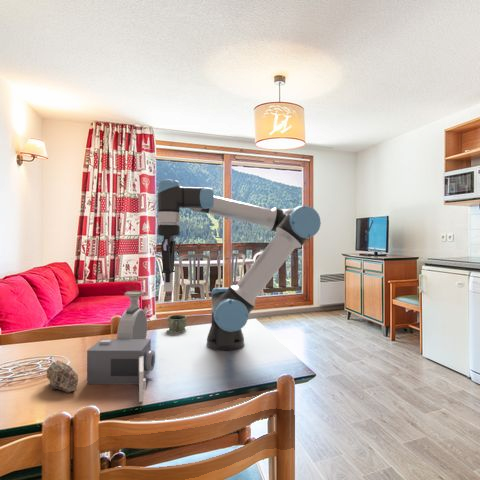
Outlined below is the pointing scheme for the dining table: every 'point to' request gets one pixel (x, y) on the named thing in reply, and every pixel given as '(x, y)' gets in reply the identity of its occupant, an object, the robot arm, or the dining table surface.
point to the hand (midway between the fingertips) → (168, 291)
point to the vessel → (177, 323)
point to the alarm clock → (132, 324)
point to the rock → (62, 377)
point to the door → (141, 378)
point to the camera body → (118, 361)
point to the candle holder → (134, 297)
